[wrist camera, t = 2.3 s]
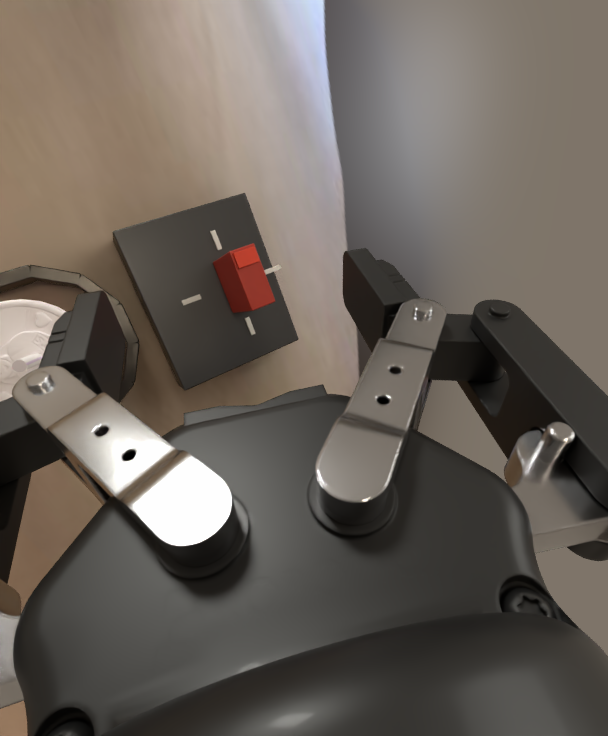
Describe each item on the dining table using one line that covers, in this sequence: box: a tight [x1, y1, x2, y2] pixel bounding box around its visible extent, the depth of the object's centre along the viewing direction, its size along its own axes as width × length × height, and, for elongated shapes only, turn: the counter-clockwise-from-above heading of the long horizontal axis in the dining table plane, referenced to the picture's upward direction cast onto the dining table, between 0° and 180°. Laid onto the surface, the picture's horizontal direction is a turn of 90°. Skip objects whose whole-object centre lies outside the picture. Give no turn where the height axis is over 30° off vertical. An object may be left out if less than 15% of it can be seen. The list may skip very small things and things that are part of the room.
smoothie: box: [0, 299, 66, 402], centre depth 23 cm, size 6×6×14 cm
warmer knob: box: [213, 244, 275, 313], centre depth 29 cm, size 4×2×5 cm, turn 23°
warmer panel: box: [113, 193, 298, 390], centre depth 32 cm, size 11×12×3 cm
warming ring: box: [0, 265, 139, 403], centre depth 29 cm, size 11×11×2 cm
